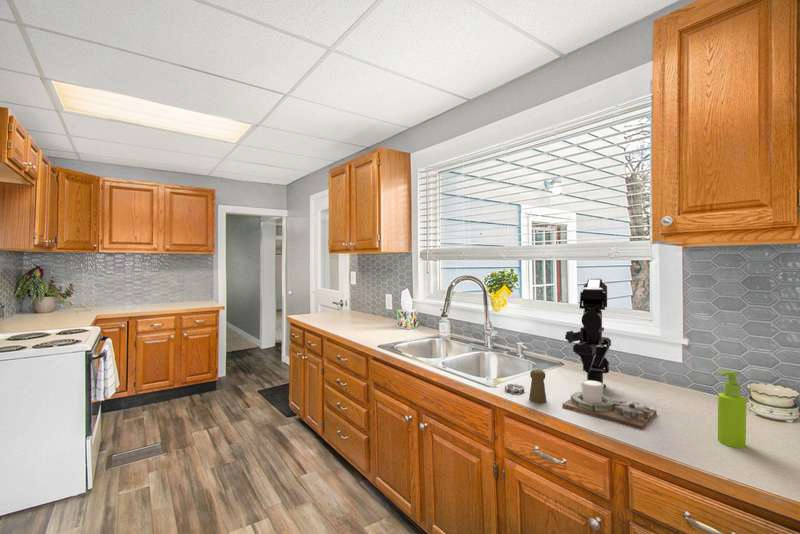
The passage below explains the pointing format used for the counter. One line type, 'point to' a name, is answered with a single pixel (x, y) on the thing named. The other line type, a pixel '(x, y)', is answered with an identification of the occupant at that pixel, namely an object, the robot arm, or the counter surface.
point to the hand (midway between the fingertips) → (592, 369)
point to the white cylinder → (592, 391)
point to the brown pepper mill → (537, 387)
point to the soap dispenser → (731, 413)
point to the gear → (514, 388)
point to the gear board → (613, 410)
